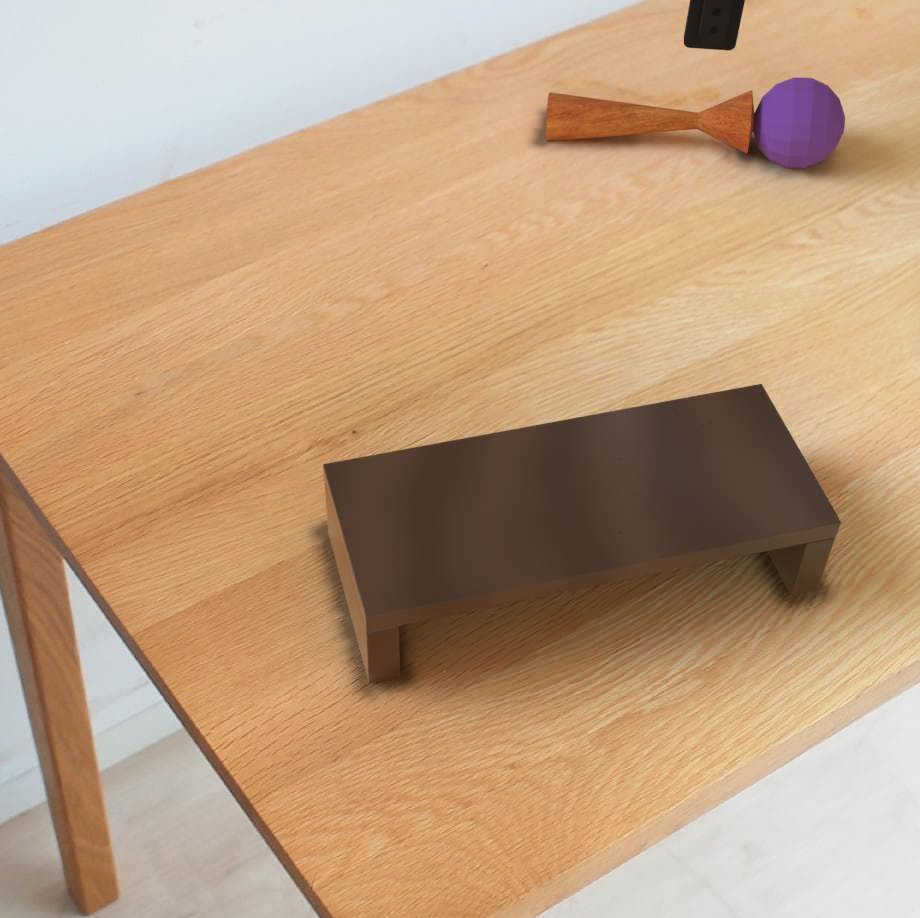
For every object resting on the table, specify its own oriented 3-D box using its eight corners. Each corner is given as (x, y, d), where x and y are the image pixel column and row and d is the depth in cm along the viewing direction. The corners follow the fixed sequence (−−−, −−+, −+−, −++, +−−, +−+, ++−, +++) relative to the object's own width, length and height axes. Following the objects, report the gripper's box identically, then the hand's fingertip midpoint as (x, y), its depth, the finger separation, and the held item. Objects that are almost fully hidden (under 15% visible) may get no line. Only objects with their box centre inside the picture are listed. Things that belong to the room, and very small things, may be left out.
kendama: (553, 59, 101) (847, 65, 98) (552, 139, 105) (835, 147, 102) (544, 92, 97) (852, 99, 93) (543, 175, 100) (840, 184, 97)
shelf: (742, 458, 82) (761, 383, 77) (816, 595, 76) (841, 521, 71) (328, 538, 78) (322, 463, 74) (369, 689, 72) (365, 617, 67)
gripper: (839, -203, 74) (772, 85, 87) (814, -334, 85) (758, -61, 98) (692, -211, 75) (647, 77, 88) (686, -341, 86) (648, -68, 99)
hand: (706, 4), depth 93 cm, fingers open, 9 cm apart
